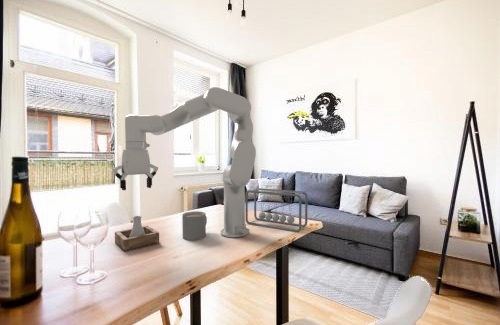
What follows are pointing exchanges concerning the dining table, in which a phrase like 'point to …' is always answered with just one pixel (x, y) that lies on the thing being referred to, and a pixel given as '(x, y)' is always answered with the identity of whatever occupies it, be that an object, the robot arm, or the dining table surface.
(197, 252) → the dining table surface
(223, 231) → the robot arm
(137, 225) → the flask
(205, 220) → the coffee mug
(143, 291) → the dining table surface
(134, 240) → the walnut well
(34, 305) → the dining table surface
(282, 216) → the newton's cradle
